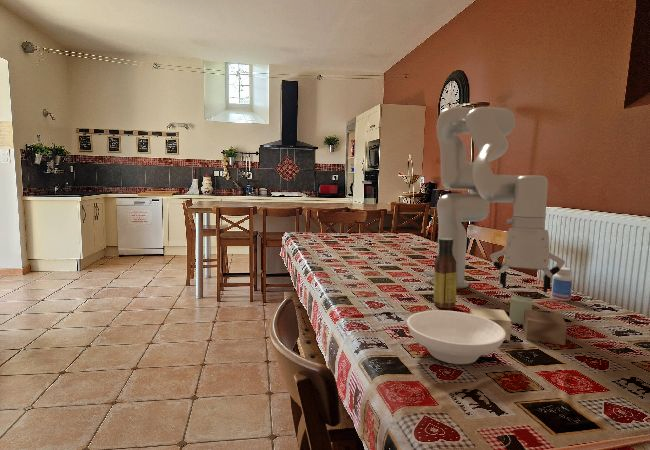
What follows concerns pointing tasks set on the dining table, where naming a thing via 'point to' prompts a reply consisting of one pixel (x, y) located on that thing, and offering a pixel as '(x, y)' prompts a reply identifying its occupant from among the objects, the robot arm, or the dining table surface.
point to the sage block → (519, 308)
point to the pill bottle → (562, 285)
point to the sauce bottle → (445, 275)
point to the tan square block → (544, 327)
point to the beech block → (495, 318)
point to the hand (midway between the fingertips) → (524, 289)
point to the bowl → (455, 335)
